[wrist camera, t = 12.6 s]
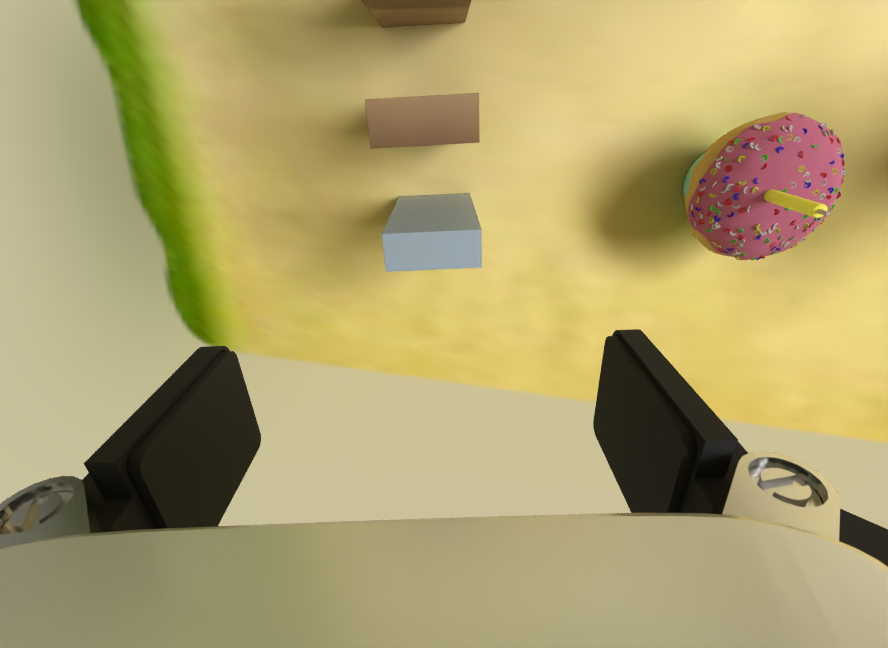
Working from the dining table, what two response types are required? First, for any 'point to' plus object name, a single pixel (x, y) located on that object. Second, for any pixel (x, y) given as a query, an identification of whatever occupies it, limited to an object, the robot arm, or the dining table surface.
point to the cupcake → (764, 186)
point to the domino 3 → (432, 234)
